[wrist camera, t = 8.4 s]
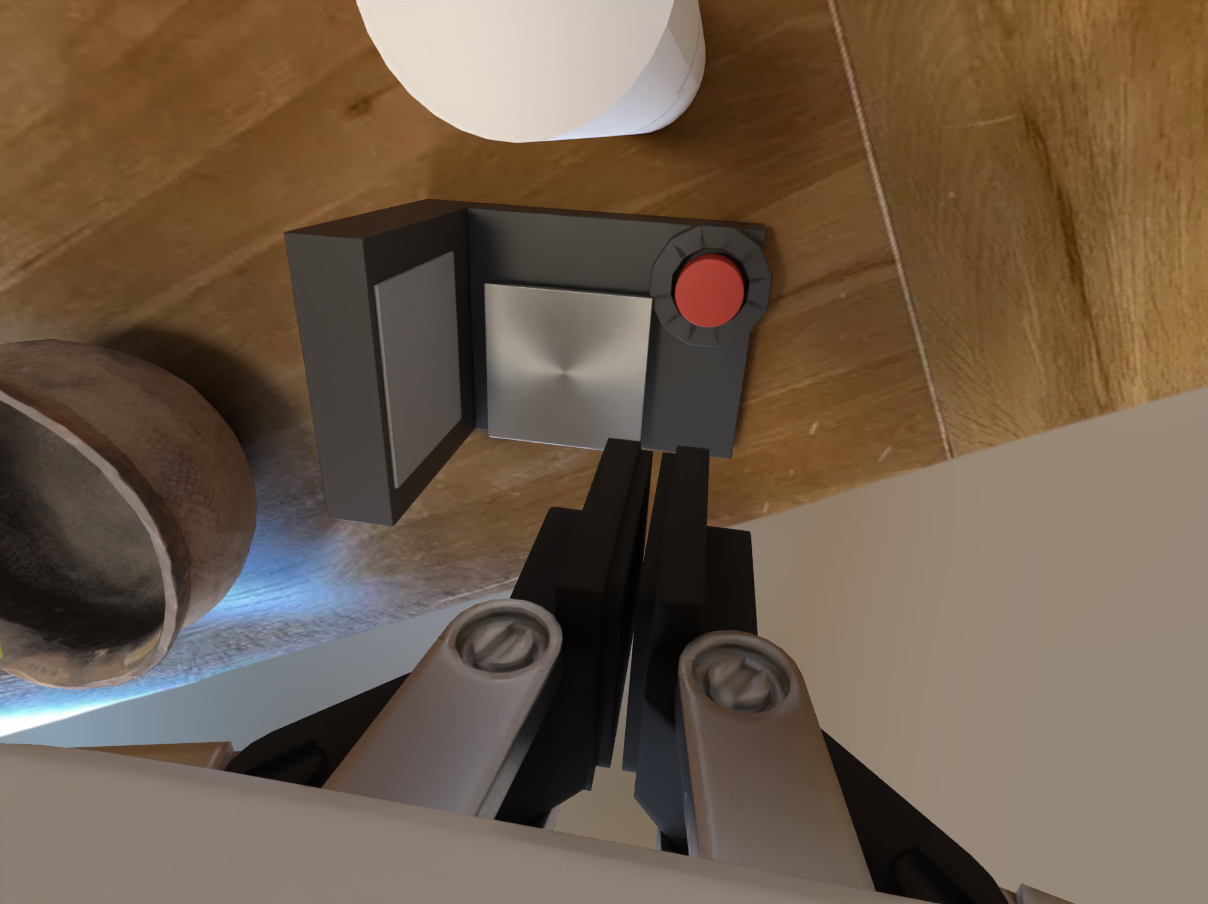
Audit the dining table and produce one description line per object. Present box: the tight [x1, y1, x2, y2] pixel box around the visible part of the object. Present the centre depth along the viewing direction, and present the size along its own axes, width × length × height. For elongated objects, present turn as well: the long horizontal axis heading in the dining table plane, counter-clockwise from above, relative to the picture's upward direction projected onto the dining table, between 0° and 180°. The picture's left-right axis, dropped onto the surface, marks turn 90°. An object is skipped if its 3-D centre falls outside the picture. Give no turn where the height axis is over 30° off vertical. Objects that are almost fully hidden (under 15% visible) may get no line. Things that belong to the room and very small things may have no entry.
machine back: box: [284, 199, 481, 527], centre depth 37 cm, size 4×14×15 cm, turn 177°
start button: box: [675, 253, 744, 327], centre depth 36 cm, size 4×4×2 cm
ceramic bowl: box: [0, 339, 257, 689], centre depth 45 cm, size 22×22×15 cm
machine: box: [467, 203, 773, 459], centre depth 40 cm, size 18×14×4 cm
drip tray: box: [484, 282, 653, 450], centre depth 39 cm, size 10×10×1 cm
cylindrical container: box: [356, 0, 705, 143], centre depth 25 cm, size 7×7×25 cm
